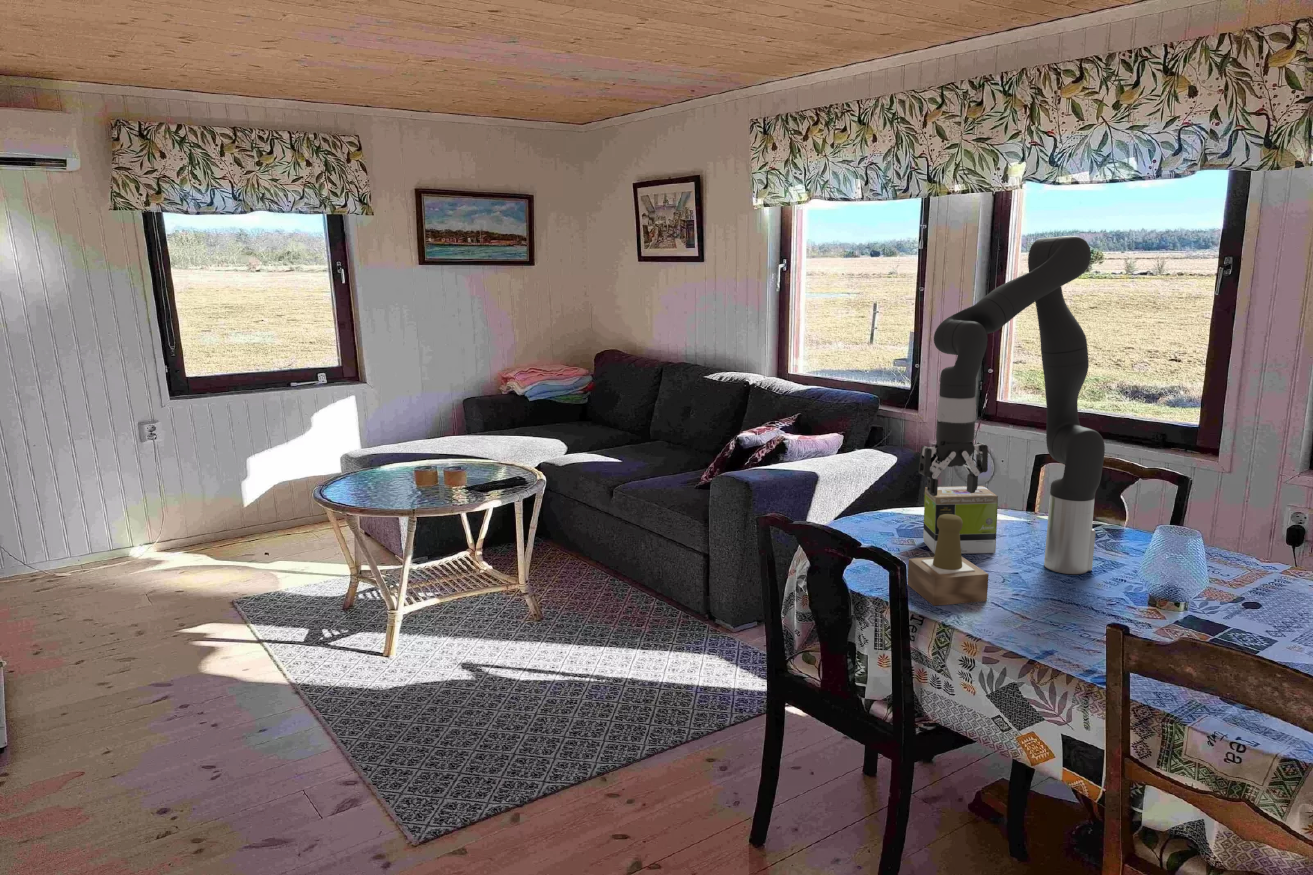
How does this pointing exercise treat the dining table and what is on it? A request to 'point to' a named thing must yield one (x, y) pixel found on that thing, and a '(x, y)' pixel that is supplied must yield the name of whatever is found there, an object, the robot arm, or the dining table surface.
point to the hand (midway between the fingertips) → (951, 493)
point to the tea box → (963, 517)
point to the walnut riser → (947, 582)
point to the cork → (948, 543)
